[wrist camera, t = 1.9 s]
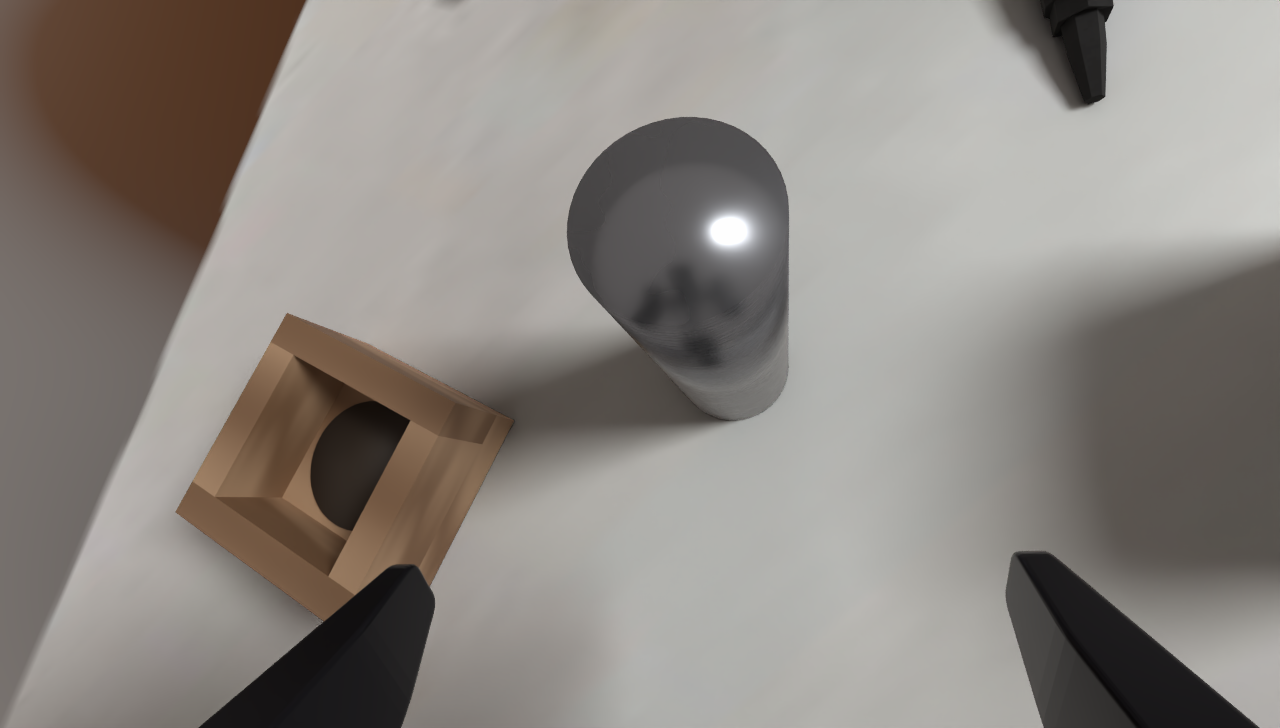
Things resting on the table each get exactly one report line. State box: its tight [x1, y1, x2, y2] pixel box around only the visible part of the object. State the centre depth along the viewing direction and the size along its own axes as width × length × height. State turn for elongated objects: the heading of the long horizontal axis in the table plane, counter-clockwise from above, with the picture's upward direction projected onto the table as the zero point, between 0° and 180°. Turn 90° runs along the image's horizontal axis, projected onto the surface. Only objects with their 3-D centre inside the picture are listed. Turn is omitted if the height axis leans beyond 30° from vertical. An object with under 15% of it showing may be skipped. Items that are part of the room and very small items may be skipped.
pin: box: [567, 117, 789, 420], centre depth 17 cm, size 4×4×12 cm
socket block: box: [176, 313, 514, 621], centre depth 23 cm, size 8×8×4 cm
